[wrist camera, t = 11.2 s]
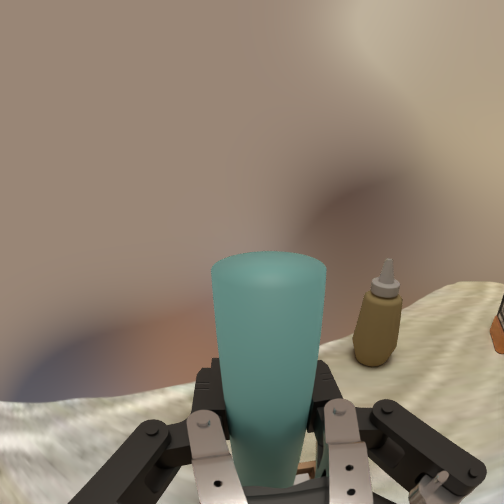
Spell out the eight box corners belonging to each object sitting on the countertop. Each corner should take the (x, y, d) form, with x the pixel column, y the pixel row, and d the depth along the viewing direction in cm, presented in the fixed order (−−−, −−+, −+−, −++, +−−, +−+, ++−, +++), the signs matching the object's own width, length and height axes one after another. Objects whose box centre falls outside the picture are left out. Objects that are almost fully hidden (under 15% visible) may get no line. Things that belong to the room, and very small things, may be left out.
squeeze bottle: (340, 354, 44) (352, 256, 39) (370, 339, 47) (385, 249, 42) (370, 377, 37) (393, 272, 32) (400, 359, 40) (423, 262, 35)
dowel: (287, 468, 14) (309, 249, 10) (295, 507, 11) (343, 285, 7) (238, 472, 14) (215, 253, 10) (240, 512, 11) (205, 292, 7)
